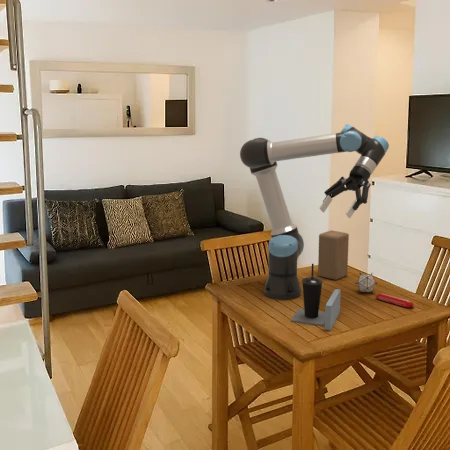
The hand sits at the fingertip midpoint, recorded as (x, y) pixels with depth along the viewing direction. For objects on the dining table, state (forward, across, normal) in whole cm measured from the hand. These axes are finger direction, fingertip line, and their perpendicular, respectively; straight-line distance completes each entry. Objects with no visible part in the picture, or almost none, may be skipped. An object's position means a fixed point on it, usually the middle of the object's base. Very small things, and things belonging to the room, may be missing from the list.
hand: (334, 213), depth 215 cm
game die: (+12, -1, -39) cm, 41 cm away
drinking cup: (+38, -8, -12) cm, 41 cm away
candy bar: (+13, -16, -38) cm, 44 cm away
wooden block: (+9, +22, -42) cm, 48 cm away
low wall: (+36, -14, -15) cm, 41 cm away
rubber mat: (+38, -8, -12) cm, 41 cm away
